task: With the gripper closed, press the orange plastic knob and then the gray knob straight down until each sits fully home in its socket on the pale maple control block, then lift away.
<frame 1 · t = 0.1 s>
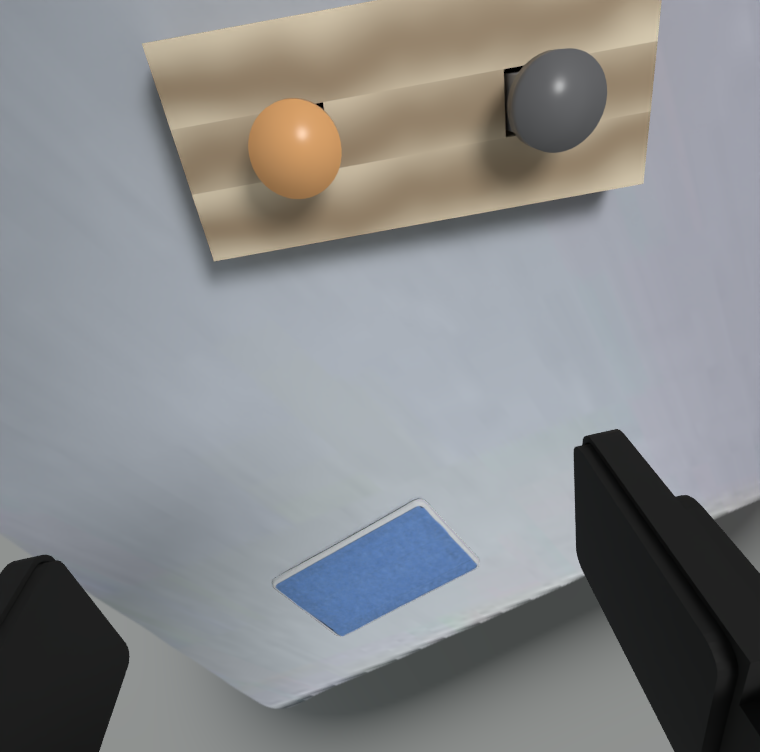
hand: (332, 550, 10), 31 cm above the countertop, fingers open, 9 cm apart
orange knob: (298, 144, 30), point 5 cm above the countertop, slide at 0.0 cm
control block: (408, 115, 34), on the countertop
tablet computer: (375, 565, 57), on the countertop
gray knob: (542, 100, 29), point 5 cm above the countertop, slide at 0.0 cm
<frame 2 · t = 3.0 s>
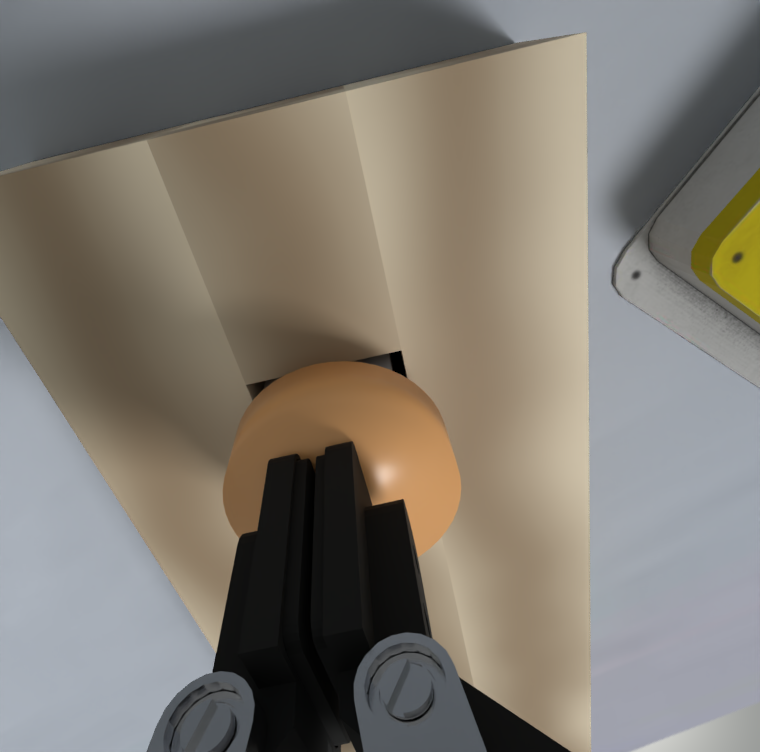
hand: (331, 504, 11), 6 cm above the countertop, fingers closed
orange knob: (342, 422, 13), point 4 cm above the countertop, slide at 1.6 cm, touching gripper
control block: (386, 513, 20), on the countertop
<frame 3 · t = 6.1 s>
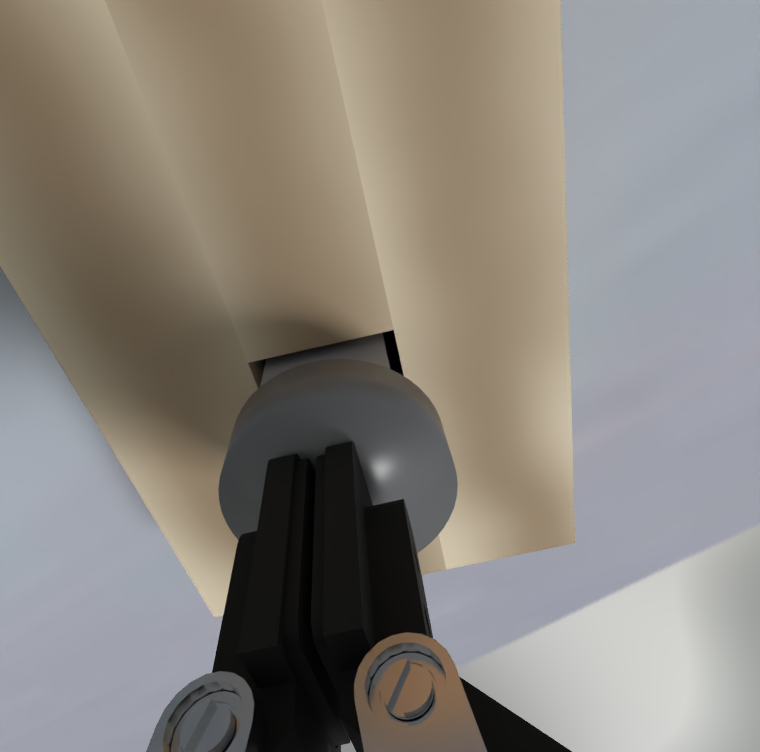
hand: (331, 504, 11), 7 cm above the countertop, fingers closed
control block: (269, 98, 13), on the countertop
gray knob: (339, 420, 13), point 5 cm above the countertop, slide at 0.7 cm, touching gripper
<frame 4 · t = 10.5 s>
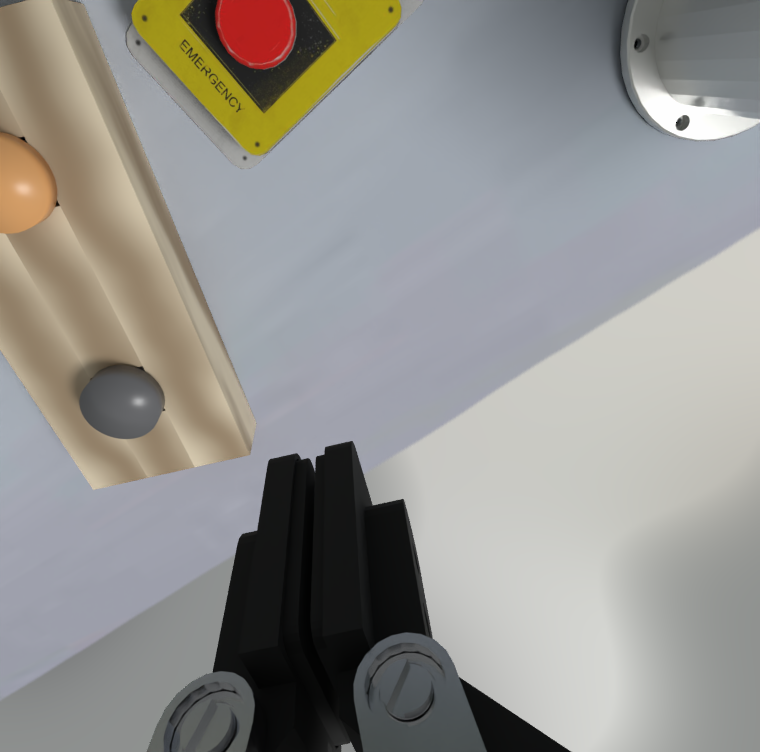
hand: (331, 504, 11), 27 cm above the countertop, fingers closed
orange knob: (20, 176, 29), point 3 cm above the countertop, slide at 2.3 cm
control block: (101, 277, 35), on the countertop
gray knob: (133, 386, 36), point 3 cm above the countertop, slide at 2.3 cm
emergency button: (278, 15, 29), on the countertop
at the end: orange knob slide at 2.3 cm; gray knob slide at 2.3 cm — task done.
